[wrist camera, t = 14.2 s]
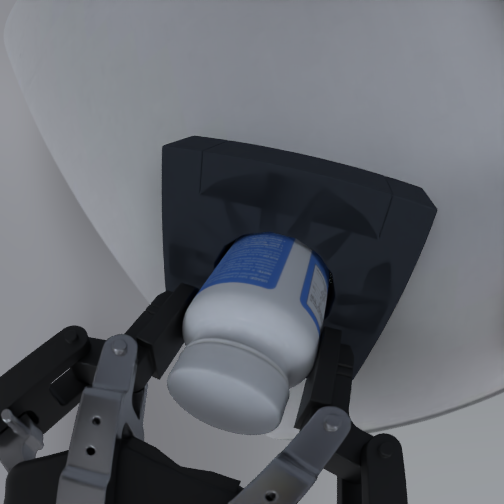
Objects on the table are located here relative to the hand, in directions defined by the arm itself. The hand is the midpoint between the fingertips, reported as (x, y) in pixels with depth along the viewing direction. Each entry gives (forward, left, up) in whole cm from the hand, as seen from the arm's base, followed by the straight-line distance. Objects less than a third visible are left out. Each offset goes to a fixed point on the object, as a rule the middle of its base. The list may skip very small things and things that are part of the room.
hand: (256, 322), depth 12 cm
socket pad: (0, 0, -5) cm, 5 cm away
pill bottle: (0, 0, -6) cm, 6 cm away
